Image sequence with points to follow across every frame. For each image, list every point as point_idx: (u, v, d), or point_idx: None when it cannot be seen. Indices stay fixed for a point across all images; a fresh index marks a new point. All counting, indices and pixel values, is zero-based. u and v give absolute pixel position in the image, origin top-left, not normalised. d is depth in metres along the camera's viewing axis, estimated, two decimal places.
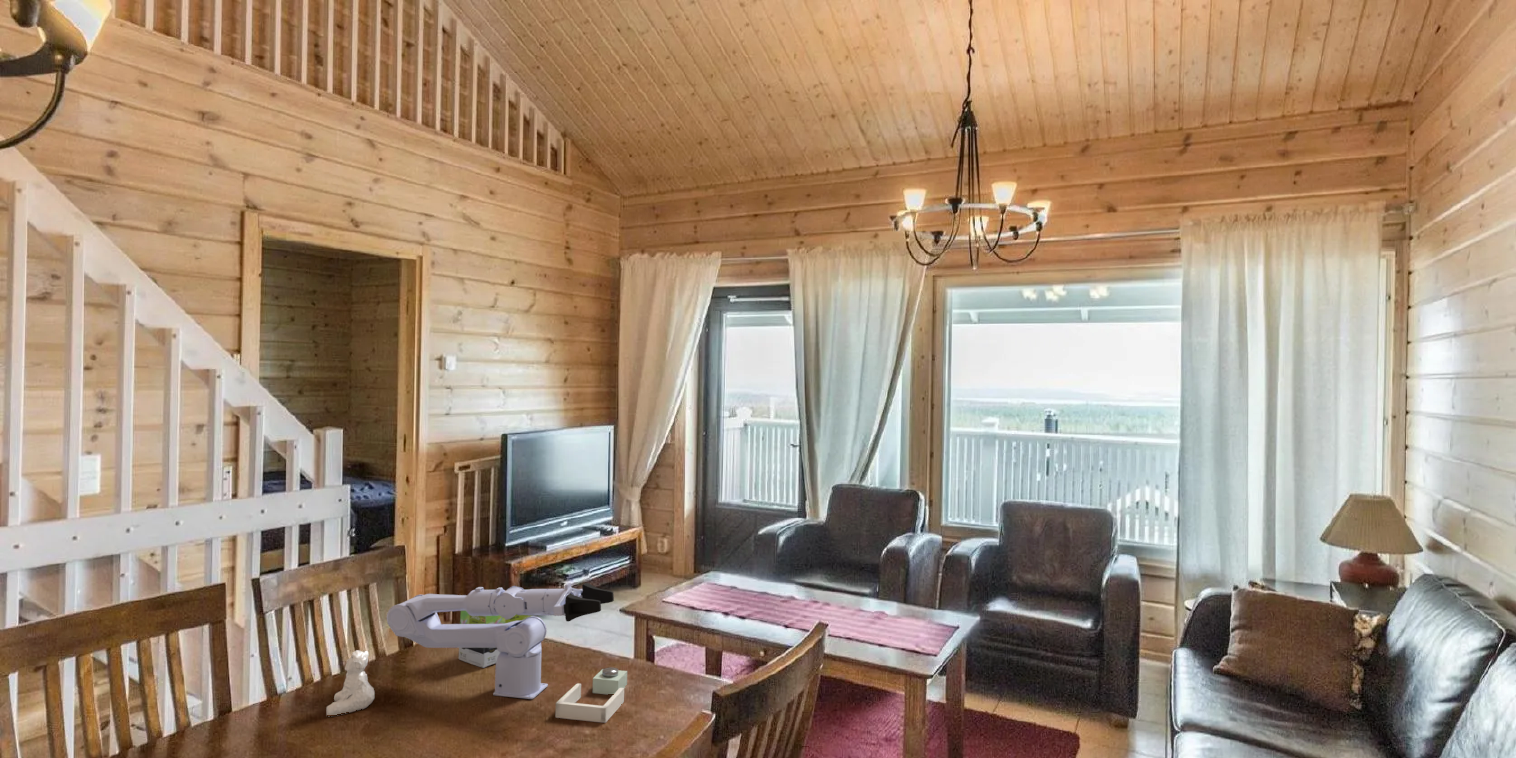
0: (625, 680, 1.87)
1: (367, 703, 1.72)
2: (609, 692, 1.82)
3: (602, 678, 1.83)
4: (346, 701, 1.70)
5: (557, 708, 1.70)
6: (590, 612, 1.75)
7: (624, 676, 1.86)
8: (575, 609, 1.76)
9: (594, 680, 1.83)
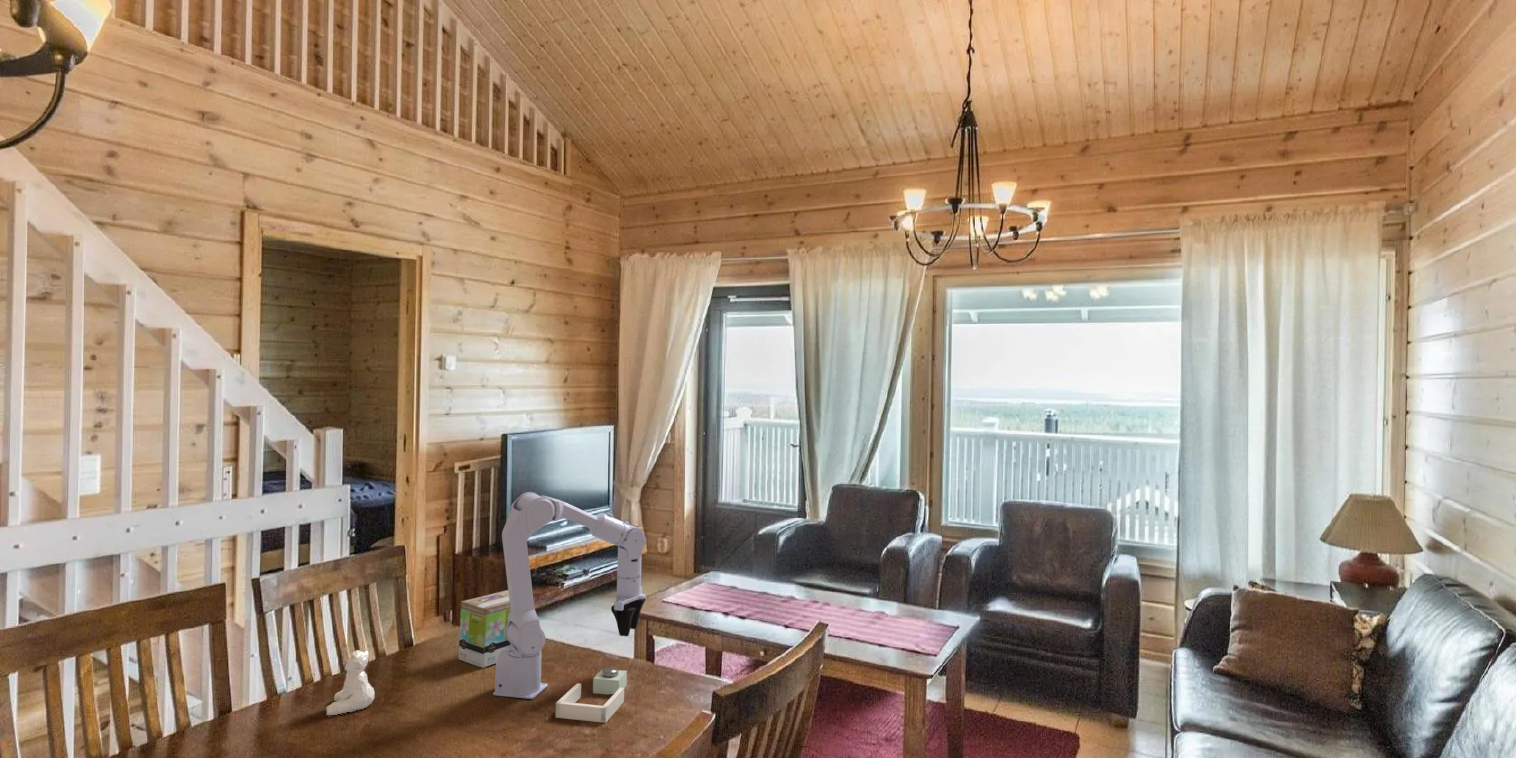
0: (625, 680, 1.87)
1: (367, 703, 1.72)
2: (610, 692, 1.82)
3: (603, 678, 1.83)
4: (346, 701, 1.70)
5: (557, 708, 1.70)
6: (618, 627, 1.94)
7: (624, 676, 1.86)
8: (621, 612, 1.94)
9: (595, 680, 1.83)
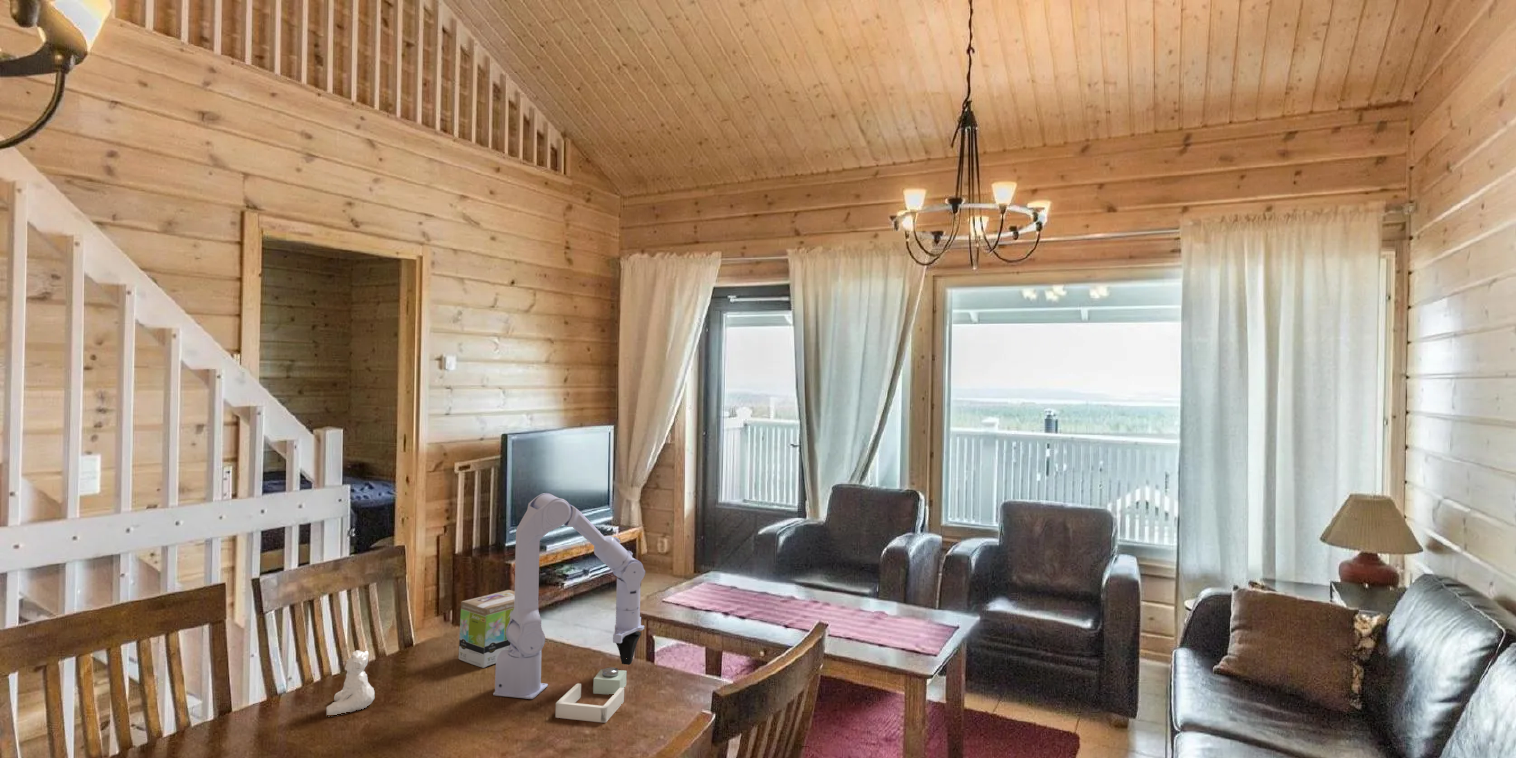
0: (624, 679, 1.87)
1: (367, 703, 1.72)
2: (610, 692, 1.83)
3: (603, 679, 1.83)
4: (346, 701, 1.70)
5: (557, 708, 1.70)
6: (621, 655, 1.96)
7: (624, 676, 1.86)
8: (624, 641, 1.96)
9: (595, 680, 1.83)
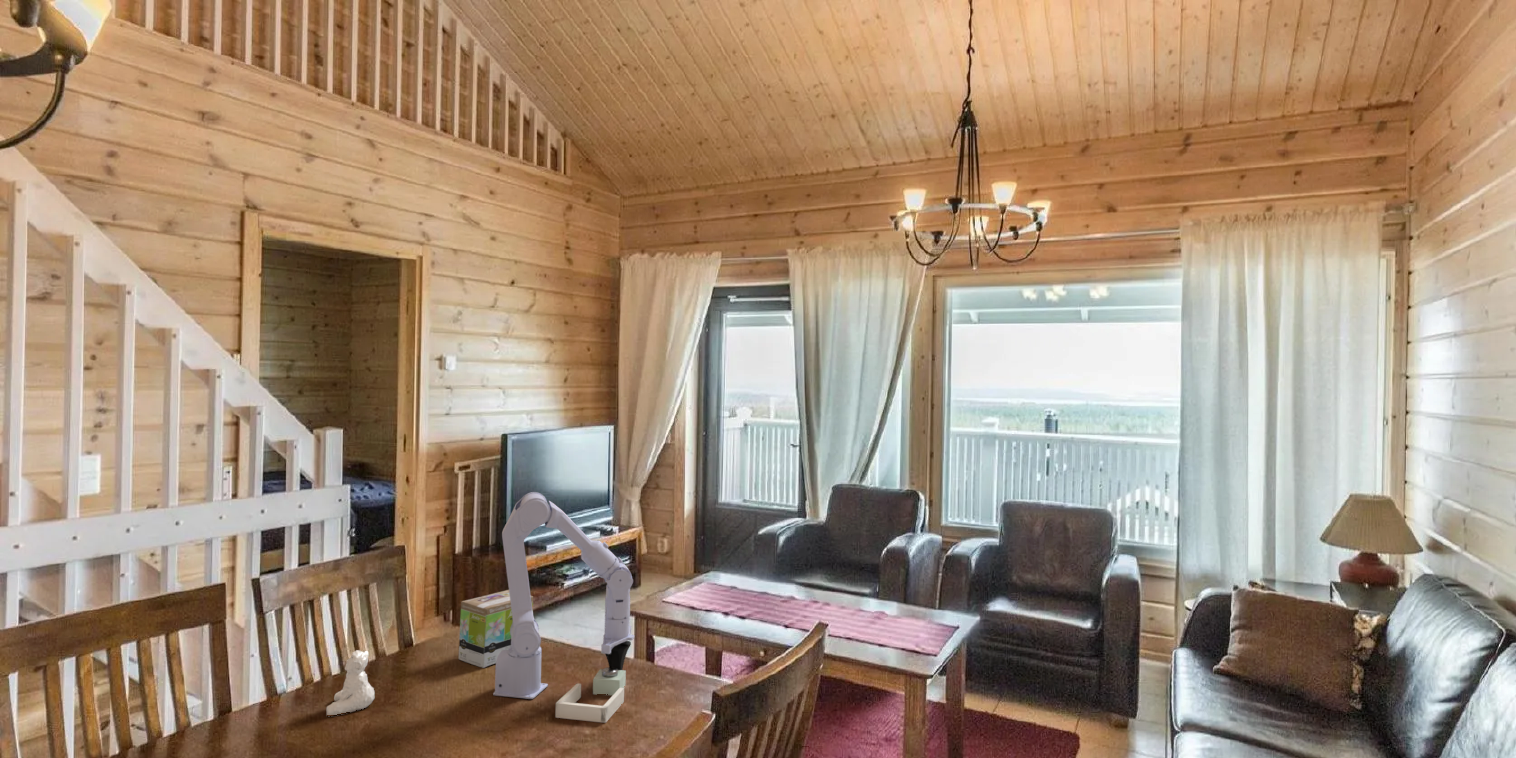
0: (624, 679, 1.87)
1: (367, 703, 1.72)
2: (610, 692, 1.82)
3: (603, 678, 1.82)
4: (346, 701, 1.70)
5: (557, 708, 1.70)
6: (610, 666, 1.89)
7: (623, 675, 1.86)
8: (613, 651, 1.89)
9: (595, 680, 1.82)
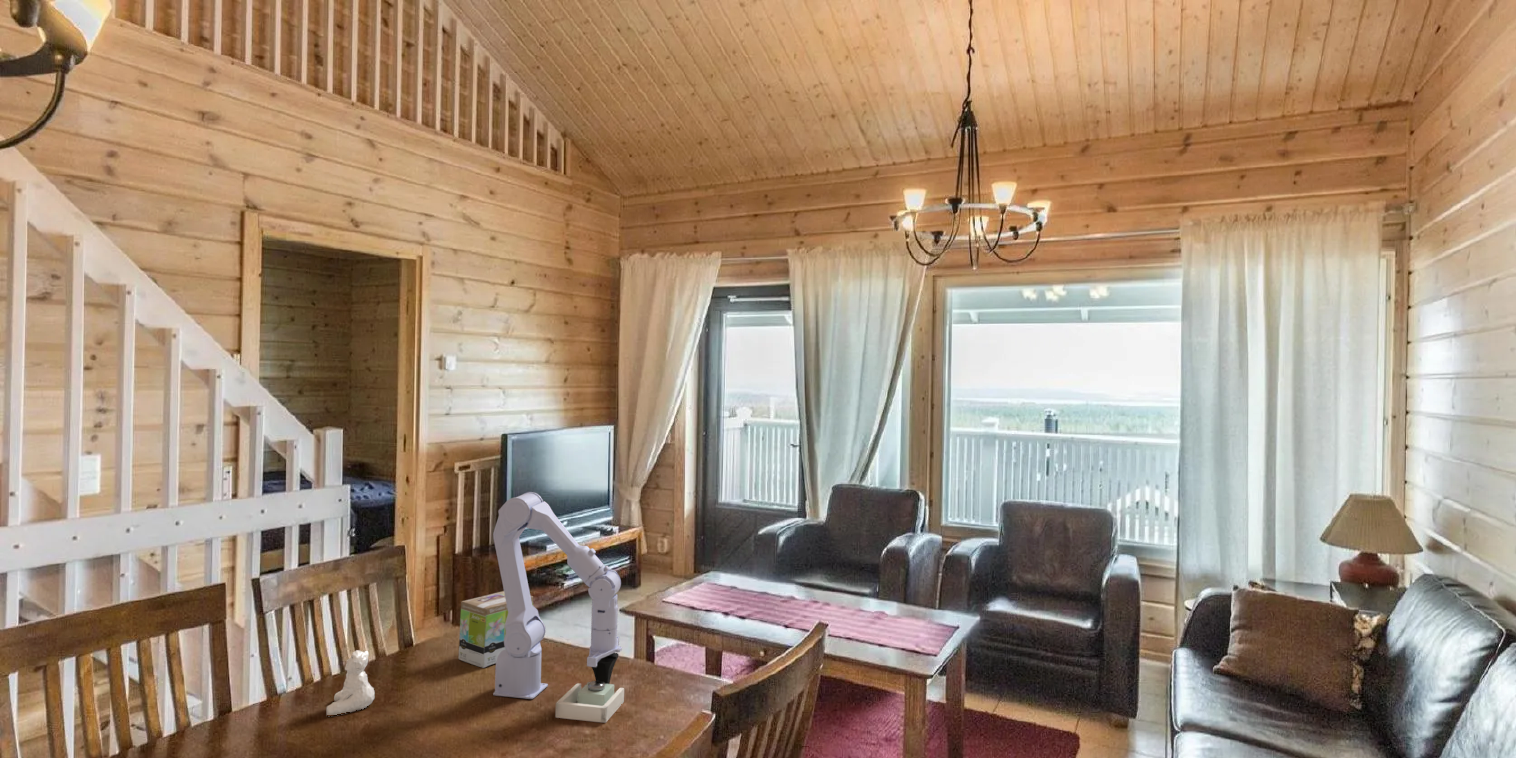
0: (611, 694, 1.78)
1: (367, 703, 1.72)
2: None
3: (588, 692, 1.75)
4: (346, 701, 1.70)
5: (557, 708, 1.70)
6: (596, 679, 1.81)
7: (610, 690, 1.78)
8: (599, 664, 1.80)
9: (579, 694, 1.75)
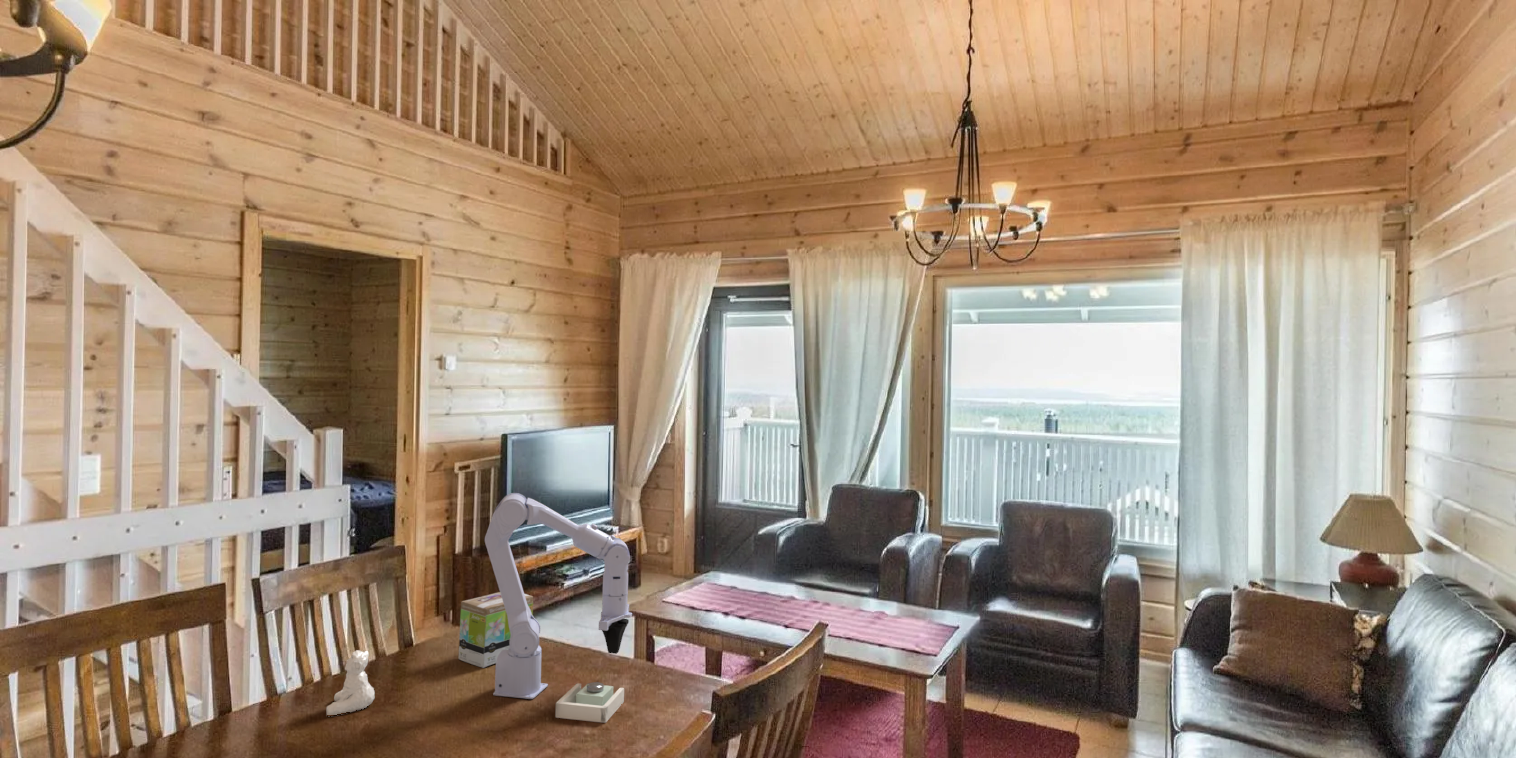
0: (610, 696, 1.78)
1: (367, 703, 1.72)
2: None
3: (586, 694, 1.74)
4: (346, 701, 1.70)
5: (557, 708, 1.70)
6: (607, 644, 1.87)
7: (609, 692, 1.77)
8: (610, 629, 1.87)
9: (578, 695, 1.74)
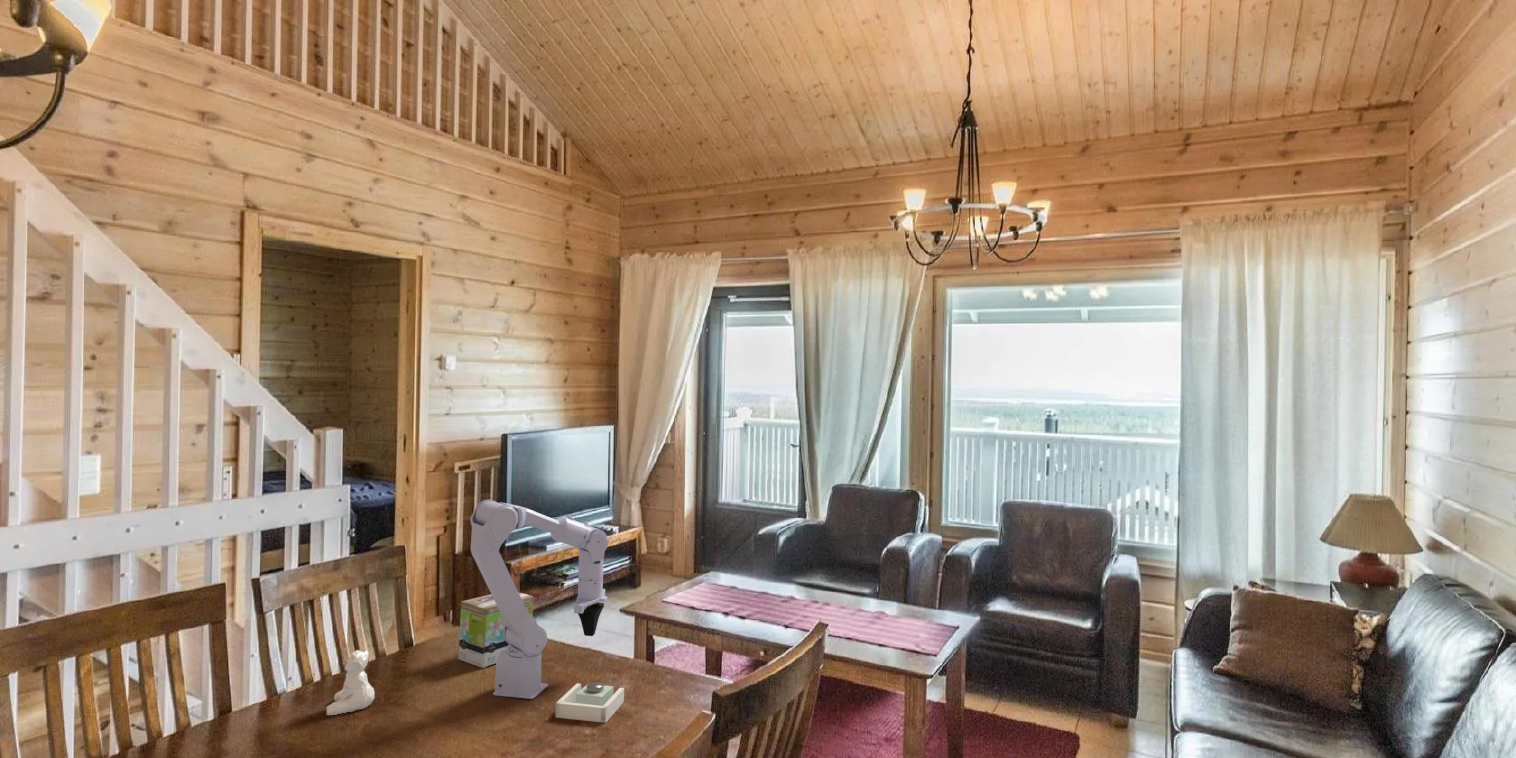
0: (610, 696, 1.77)
1: (367, 703, 1.72)
2: None
3: (586, 694, 1.74)
4: (346, 701, 1.70)
5: (557, 708, 1.70)
6: (583, 627, 1.93)
7: (609, 692, 1.77)
8: (586, 612, 1.93)
9: (578, 695, 1.74)
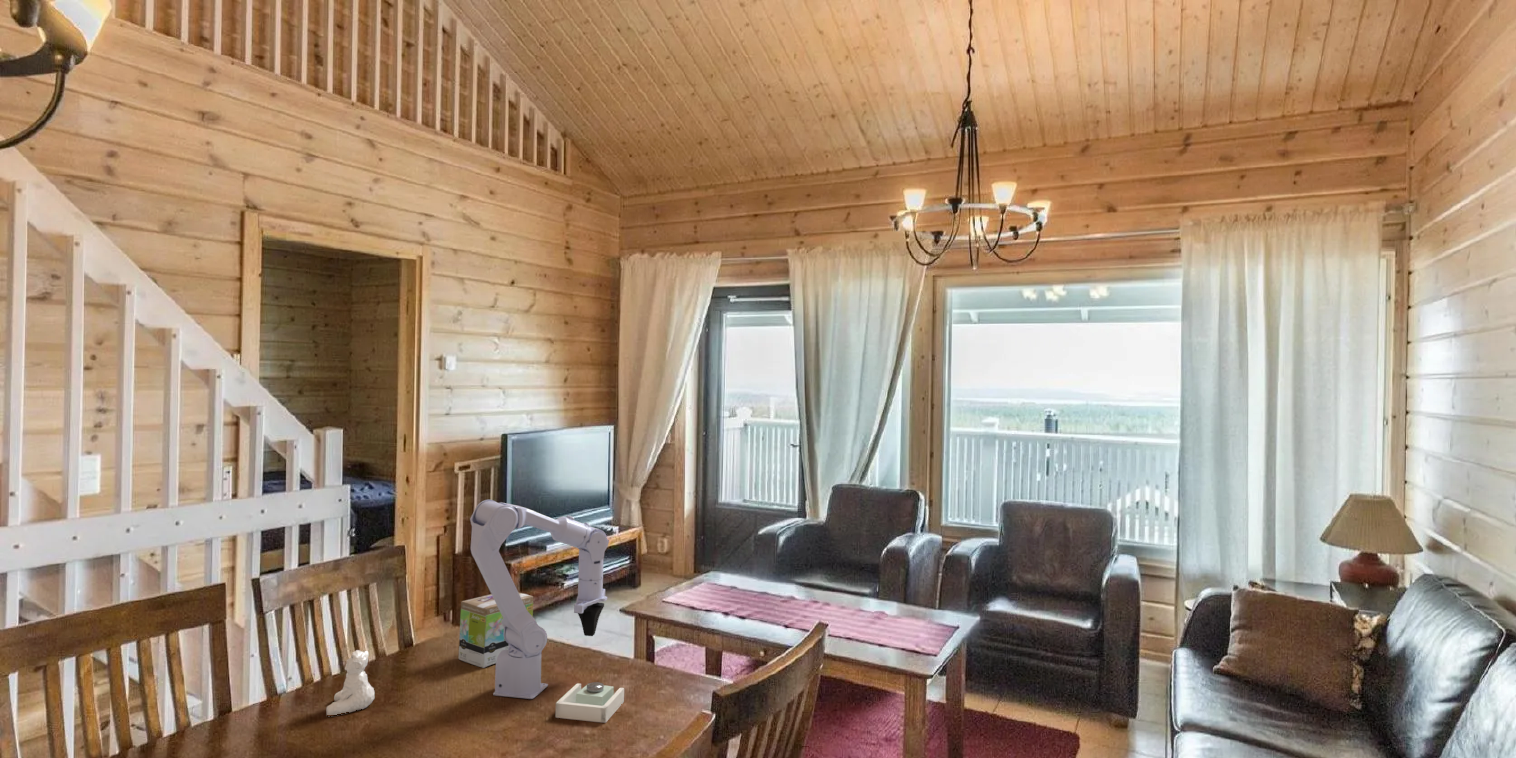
0: (610, 696, 1.77)
1: (367, 703, 1.72)
2: None
3: (586, 694, 1.74)
4: (346, 701, 1.70)
5: (557, 708, 1.70)
6: (583, 627, 1.93)
7: (609, 692, 1.77)
8: (586, 612, 1.93)
9: (578, 695, 1.74)
